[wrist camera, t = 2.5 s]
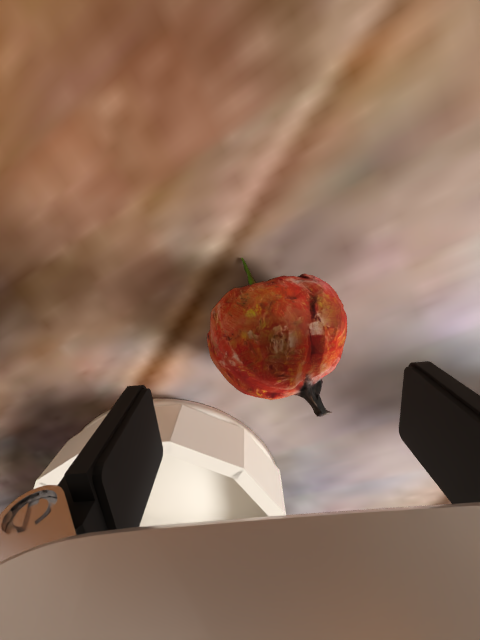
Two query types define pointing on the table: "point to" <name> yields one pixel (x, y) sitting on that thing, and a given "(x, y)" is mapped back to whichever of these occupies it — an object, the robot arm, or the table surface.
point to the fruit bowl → (197, 467)
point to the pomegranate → (278, 337)
